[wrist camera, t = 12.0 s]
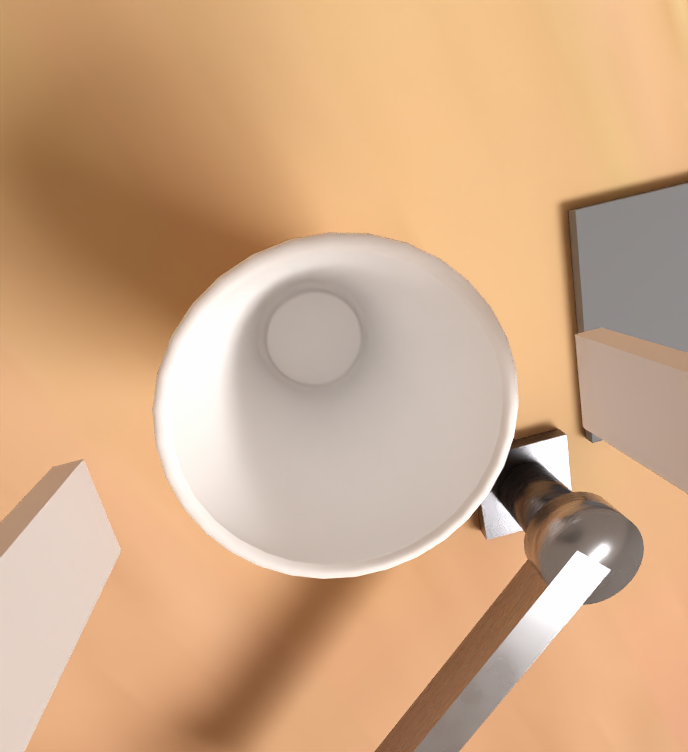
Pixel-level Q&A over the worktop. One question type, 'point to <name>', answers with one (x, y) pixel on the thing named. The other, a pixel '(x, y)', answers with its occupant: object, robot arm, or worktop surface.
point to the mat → (633, 267)
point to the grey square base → (526, 483)
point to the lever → (524, 618)
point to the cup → (335, 405)
